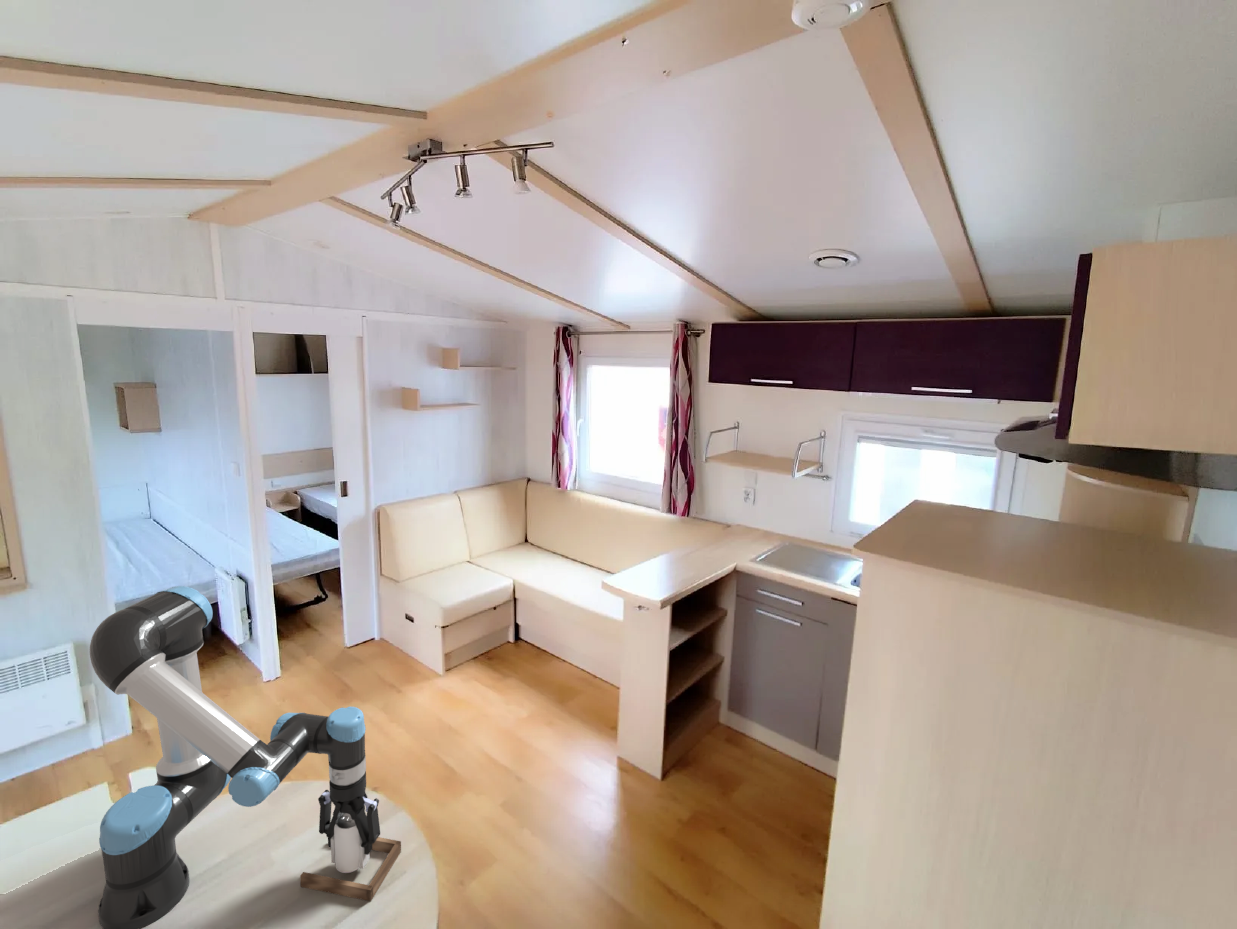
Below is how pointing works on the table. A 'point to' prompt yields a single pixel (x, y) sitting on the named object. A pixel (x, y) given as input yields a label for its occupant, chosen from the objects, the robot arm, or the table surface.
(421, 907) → the table surface
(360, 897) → the open wooden frame
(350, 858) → the can
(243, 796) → the robot arm
